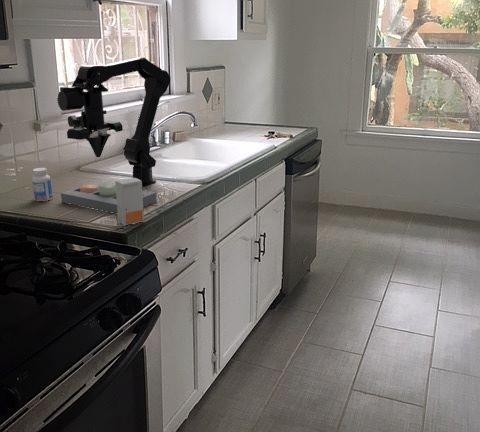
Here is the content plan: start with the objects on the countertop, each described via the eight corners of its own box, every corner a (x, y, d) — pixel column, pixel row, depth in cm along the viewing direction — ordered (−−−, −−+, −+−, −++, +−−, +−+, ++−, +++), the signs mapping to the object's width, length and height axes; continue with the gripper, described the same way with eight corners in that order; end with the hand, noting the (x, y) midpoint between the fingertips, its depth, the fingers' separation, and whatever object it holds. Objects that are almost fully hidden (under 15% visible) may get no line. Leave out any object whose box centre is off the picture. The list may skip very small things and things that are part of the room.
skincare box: (124, 227, 143) (121, 184, 139) (118, 222, 146) (114, 180, 142) (145, 222, 147) (142, 180, 143) (138, 218, 150) (135, 177, 146)
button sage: (108, 193, 167) (107, 183, 166) (121, 195, 164) (121, 185, 163) (95, 197, 163) (94, 187, 161) (109, 200, 160) (108, 190, 159)
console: (97, 190, 176) (96, 181, 175) (156, 201, 164) (155, 192, 163) (61, 202, 164) (60, 193, 163) (123, 215, 152) (122, 205, 151)
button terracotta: (90, 193, 171) (89, 183, 170) (103, 195, 169) (102, 185, 168) (77, 197, 167) (76, 187, 166) (90, 200, 164) (89, 190, 163)
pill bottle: (47, 195, 171) (43, 166, 168) (56, 198, 168) (52, 168, 164) (31, 199, 167) (27, 169, 164) (40, 203, 164) (36, 172, 160)
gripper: (96, 102, 176) (100, 149, 181) (51, 109, 160) (57, 160, 166) (121, 104, 170) (125, 152, 175) (77, 111, 155) (83, 164, 160)
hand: (98, 157), depth 169 cm, fingers closed
